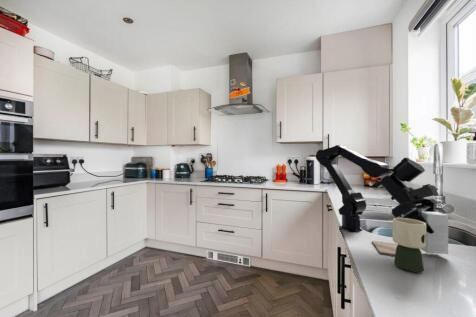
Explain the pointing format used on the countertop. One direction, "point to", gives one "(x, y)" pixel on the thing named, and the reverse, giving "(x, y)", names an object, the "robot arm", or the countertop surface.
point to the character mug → (409, 243)
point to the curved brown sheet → (385, 248)
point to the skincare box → (436, 233)
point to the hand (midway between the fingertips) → (438, 231)
